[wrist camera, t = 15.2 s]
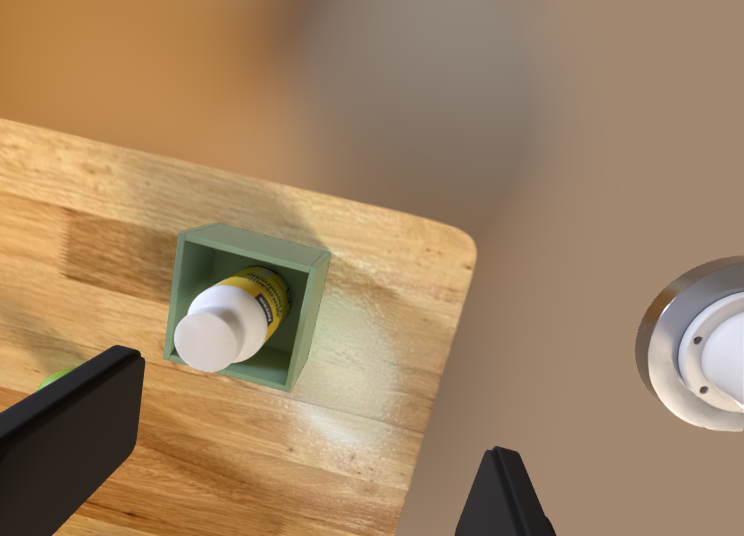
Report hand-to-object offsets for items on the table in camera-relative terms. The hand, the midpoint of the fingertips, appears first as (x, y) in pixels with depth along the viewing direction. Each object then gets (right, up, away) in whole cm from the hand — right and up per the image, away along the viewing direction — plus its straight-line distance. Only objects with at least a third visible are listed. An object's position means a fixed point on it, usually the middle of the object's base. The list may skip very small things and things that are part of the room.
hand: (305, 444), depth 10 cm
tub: (-9, +2, +29) cm, 31 cm away
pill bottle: (-9, +2, +29) cm, 31 cm away
